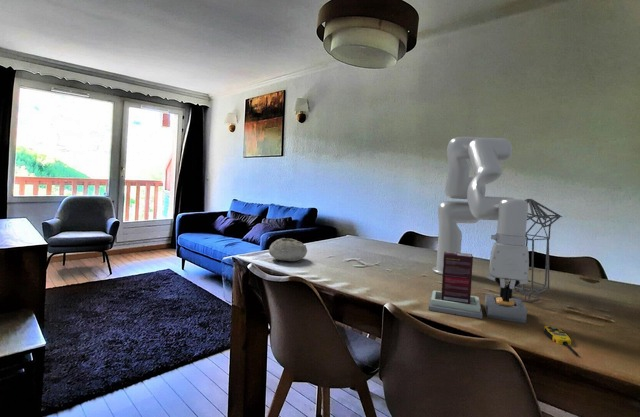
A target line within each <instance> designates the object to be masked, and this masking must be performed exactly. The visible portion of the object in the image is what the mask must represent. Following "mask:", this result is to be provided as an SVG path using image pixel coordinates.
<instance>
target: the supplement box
mask: <svg viewBox="0 0 640 417" xmlns="http://www.w3.org/2000/svg"><path fill="white" fill-rule="evenodd" d="M473 259H474V257H473V254H472V253H463V252H461V253H455V252H444V258H443V275H442V278H441V291H442V297H441V300H445V301H451V302H458V303H464V304H470V297H471V296H472V294H471V293H472V280H473V263H474V260H473Z"/></svg>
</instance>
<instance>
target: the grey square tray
mask: <svg viewBox="0 0 640 417" xmlns="http://www.w3.org/2000/svg"><path fill="white" fill-rule="evenodd" d="M441 297H442V290H434V289H433V290H432V292H431V295H430V298H429V299H430V300H429V303H428V311H433V312H438V313H445V314H451V315H455V314H456V315H455V316H461V317H469V318H473V319H479V320H482V319H483V312H482V306H481V302H480V297H479V296H476V295H471V297H470V304H464V303H458V302H451V301H445V300H441Z"/></svg>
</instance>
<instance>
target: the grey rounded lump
mask: <svg viewBox="0 0 640 417" xmlns="http://www.w3.org/2000/svg"><path fill="white" fill-rule="evenodd" d="M268 253H269V255H270V256H271V257H272V258H273V259H275V260H278V261H283V262H297V261H301V260H302V259H304V258H305V257H306V255H307V253H308V249H307V246H306V244H304V243H303V241H302V242H301V241H299V240H297V239H294V238H285V237H282V238H279V239H276V240H275V241H273V242H271V244H270V245H269V250H268Z"/></svg>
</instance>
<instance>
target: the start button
mask: <svg viewBox="0 0 640 417" xmlns="http://www.w3.org/2000/svg"><path fill="white" fill-rule="evenodd" d="M496 303H499V304H505V305H512V306H514V303H515V301H514V300H512V299H509V302H507V301H503V300H502V297H497V298H496Z"/></svg>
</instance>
